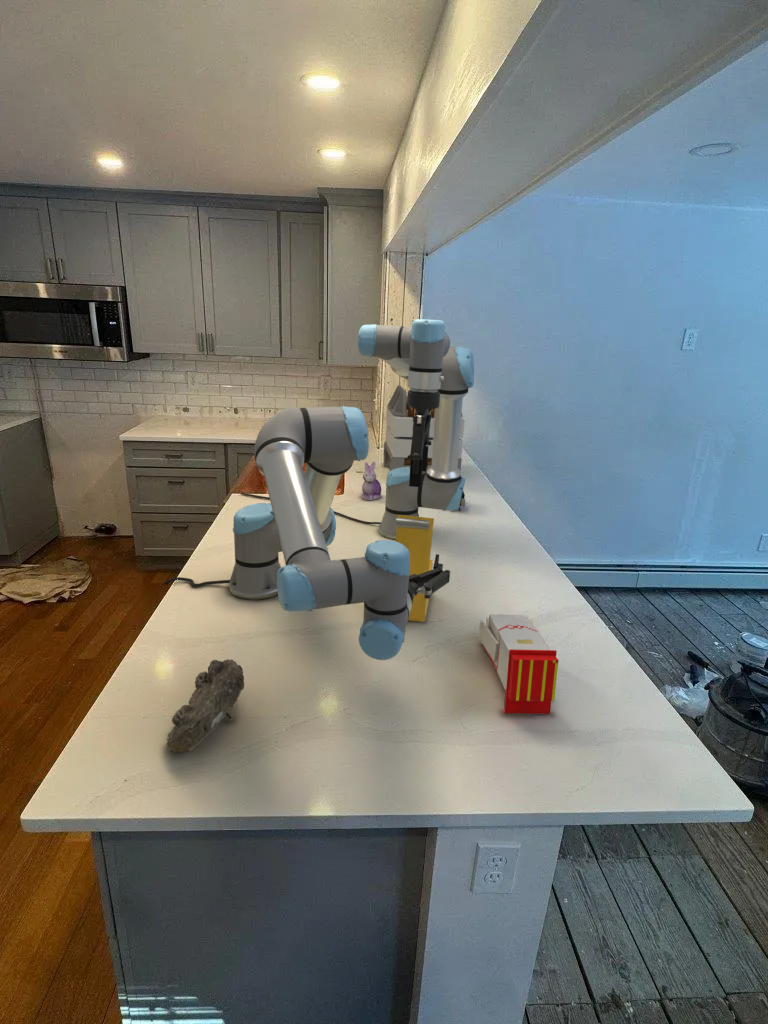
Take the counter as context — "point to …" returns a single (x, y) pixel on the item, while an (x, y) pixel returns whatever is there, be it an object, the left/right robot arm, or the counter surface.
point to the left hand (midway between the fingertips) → (407, 556)
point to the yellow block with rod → (416, 540)
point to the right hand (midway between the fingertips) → (418, 478)
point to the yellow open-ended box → (419, 605)
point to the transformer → (406, 432)
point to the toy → (521, 662)
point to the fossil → (206, 705)
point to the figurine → (370, 483)
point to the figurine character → (462, 501)
